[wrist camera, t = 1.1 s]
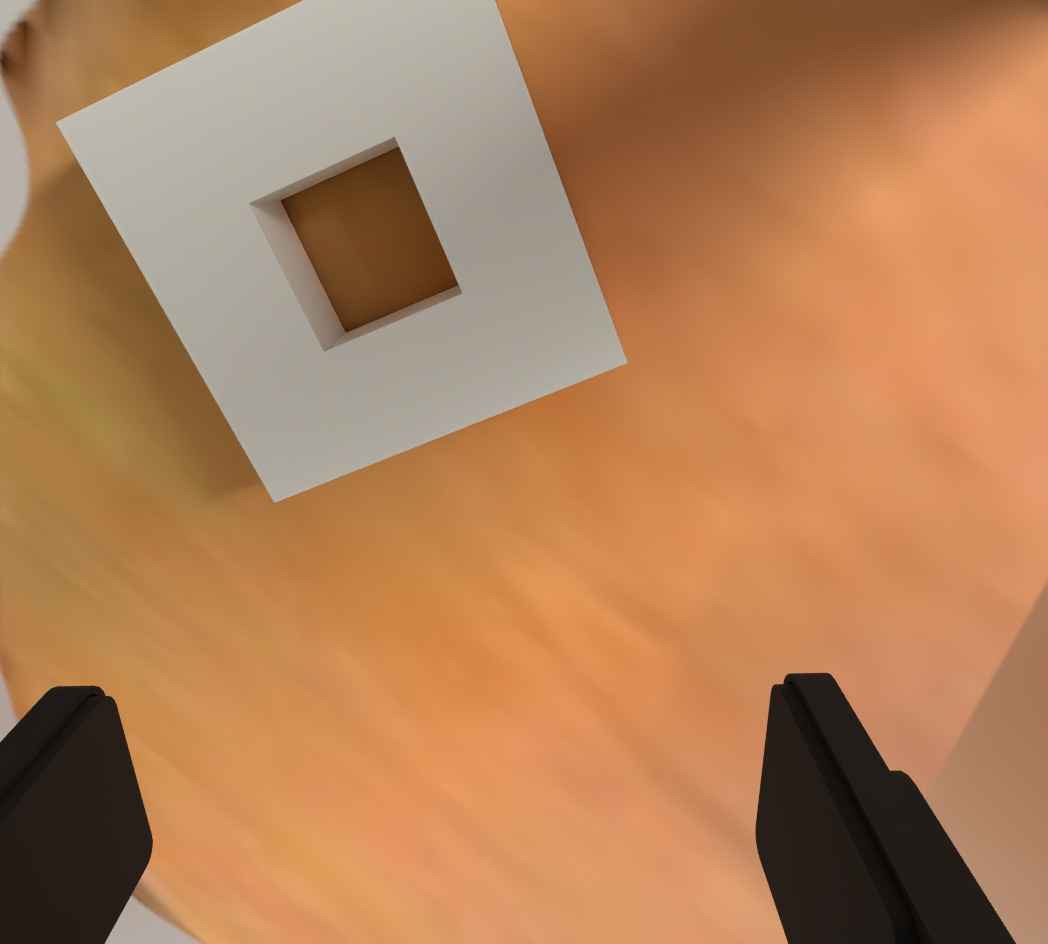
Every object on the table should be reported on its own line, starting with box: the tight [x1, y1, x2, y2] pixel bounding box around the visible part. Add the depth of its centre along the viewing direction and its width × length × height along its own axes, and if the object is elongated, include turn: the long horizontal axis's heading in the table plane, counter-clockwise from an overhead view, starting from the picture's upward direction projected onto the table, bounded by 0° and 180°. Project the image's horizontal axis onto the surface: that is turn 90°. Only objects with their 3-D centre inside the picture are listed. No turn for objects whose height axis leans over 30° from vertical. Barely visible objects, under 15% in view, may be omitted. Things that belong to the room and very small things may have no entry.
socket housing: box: [56, 0, 628, 503], centre depth 31 cm, size 16×16×4 cm
